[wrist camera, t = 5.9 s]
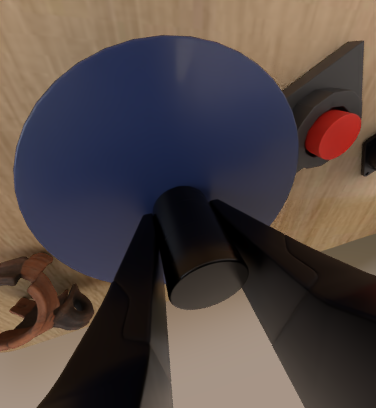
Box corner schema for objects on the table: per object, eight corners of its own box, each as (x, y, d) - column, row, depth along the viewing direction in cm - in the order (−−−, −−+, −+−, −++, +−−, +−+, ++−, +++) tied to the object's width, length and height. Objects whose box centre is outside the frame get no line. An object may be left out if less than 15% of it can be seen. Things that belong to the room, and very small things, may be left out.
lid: (301, 198, 13) (381, 261, 9) (157, 290, 14) (169, 376, 11) (228, -79, 5) (617, -591, 1) (-55, 191, 7) (-290, 366, 3)
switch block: (348, 126, 22) (379, 135, 20) (266, 181, 24) (285, 196, 21) (347, 41, 17) (391, 37, 14) (241, 121, 18) (262, 131, 16)
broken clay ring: (-7, 300, 24) (-81, 356, 16) (21, 230, 24) (-39, 253, 16) (90, 319, 27) (69, 376, 19) (115, 258, 27) (104, 288, 19)
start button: (343, 136, 19) (360, 142, 18) (307, 160, 20) (321, 168, 18) (342, 99, 16) (362, 102, 15) (301, 128, 17) (316, 134, 16)
